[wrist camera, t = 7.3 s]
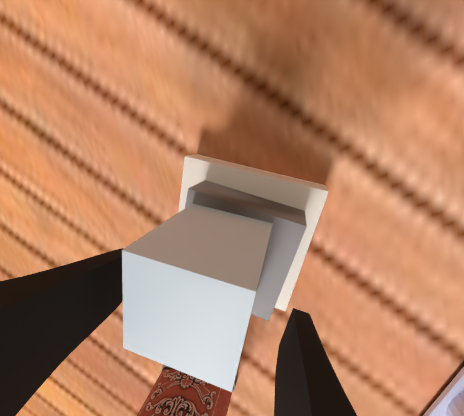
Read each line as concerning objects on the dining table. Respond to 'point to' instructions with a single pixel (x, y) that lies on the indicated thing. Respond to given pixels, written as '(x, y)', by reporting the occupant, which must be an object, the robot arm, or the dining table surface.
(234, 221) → the gray block
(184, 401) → the lighter
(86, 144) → the dining table surface
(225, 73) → the dining table surface
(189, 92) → the dining table surface
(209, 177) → the base slab
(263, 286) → the gray slab
